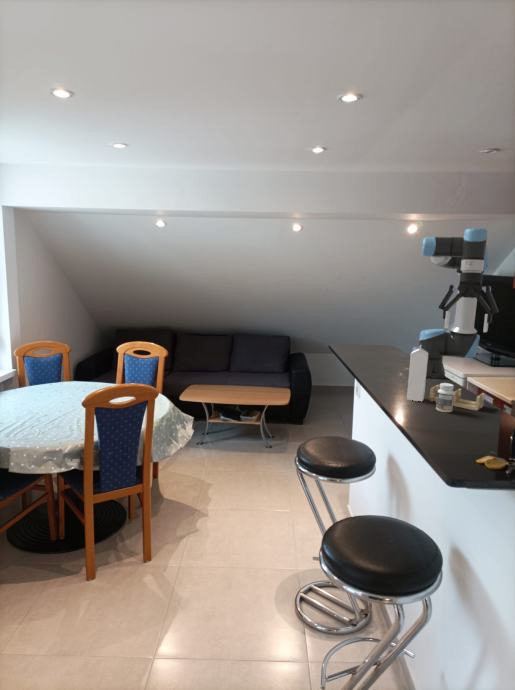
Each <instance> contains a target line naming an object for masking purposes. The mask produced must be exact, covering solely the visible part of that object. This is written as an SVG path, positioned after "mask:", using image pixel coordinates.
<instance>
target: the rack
mask: <svg viewBox="0 0 515 690" xmlns="http://www.w3.org/2000/svg"><path fill="white" fill-rule="evenodd" d="M439 389H440V384H436V385H433V386H432V387H430V390H429V399H428V401H429V400H430V401H429V402H433V401H435V403H437V392H438V390H439ZM453 391H454V390H453ZM461 394H462V389H461V388H459V389H457V390H455V391H454V401H453V407H457V408H463V409H466V410H467V409H468V410H471V411H479V410H480V409H482V408H483V407H484V402H485V393H484V392H483V393H480V394H479V395H477V396H476V401H473V400H469V399H462V398H461V396H462V395H461Z"/></svg>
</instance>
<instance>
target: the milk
mask: <svg viewBox="0 0 515 690" xmlns="http://www.w3.org/2000/svg"><path fill="white" fill-rule="evenodd" d="M427 362H428V352H426V351H425V350H423V349H422V348H421V345H420V346H419V345H418V348H417V349H415V350H414V351H412V352H411V353H410V360H409V369H408V380H407V381H408V382H407V391H406V401H412V400H413V402H418V401H421V402H420V403H423V402H422V401H424V399H425V391H426V381H427V378H426V372H427Z"/></svg>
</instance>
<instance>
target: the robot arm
mask: <svg viewBox="0 0 515 690" xmlns="http://www.w3.org/2000/svg"><path fill="white" fill-rule="evenodd" d="M487 242H488V229H486V228H483V227H481V228H480V227H473V228H467V229H465V230H464V235H463V236H452V237H449V236H448V237H447V236H427V237H423V241H422V246H421V247H422V248H421V249H422V250H421V251H422V253H421V254H422V256H423V257H429V259H430V262H431V263H432V264H434V265H436V266H438V267H441V268H444V269H448V270H449V269H450V270H456V272H455V273H456V274H457V275H458V277H459V278H458V285H456V284H450V285H449V288H448V291H447V292H446V294H445V296H444V298H442V301H441V302H440V304H439V305H438V309H440V310H441V311H443V312H442V320H444V327H443V328H430V329H424V330H423V329H422V330H421V332H420V334H419V338H418V340H419V342H418V343H419V345H418V347H419V346H420V345H421V348H422V349H423V350H425V351H426V352H428V362H427V372H426V377H435V378H434V379H443V378H445V377H446V371H445V366H444V361H443V358H444V357H451V358H453V357H454V358H460V359H472V358H474V357H476V353H477V350H478V347H479V344H480V337H481V336H480V334H477V333H478V330H477V329H476V328H475V322H476V321H475V320H476V313H477V312H476V311H477V304H478V303H477V302H479V304H480V305H481V306H482V307H483V309H484V310H485V312H486V313H485V314H484V322H483V331H482V332H483V333H487V332H488V329H489V324H491V323H492V321H493V314H496V313H499V311H500V309H499V307H498V305H497V303H496V300H495V298H494V295H493V293H492V287H491V286H490V285H486V286H483V277H484V276H483V275H484V274H485V271H487V270H488V269H489V254H488V253H489V249H488V246H487ZM456 291H457V294H456V295H455V296H454V298H453V299H452V300H450V299H451V297H452V295H453V294H454V292H456ZM482 291H483V292H484V293H486V294H485V295H486V297H487V300H488V302H489V304H490V305H488V303H487V302H486V300H485V299H484V297H483V296H482V294H481V293H482ZM449 300H450V301H449ZM448 301H449V302H448ZM455 304H456V306H455V307H456V308H455V318H454V326H452V328H450V320H451V319H450V318H451V310H450V309H451V308H452V307H453V306H454V305H455ZM449 328H450V330H449V331H450V332H447V331H446V329H449ZM441 377H442V378H441Z"/></svg>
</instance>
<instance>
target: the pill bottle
mask: <svg viewBox="0 0 515 690" xmlns="http://www.w3.org/2000/svg"><path fill="white" fill-rule="evenodd" d="M453 401H454V384H452V383H449V382H441V383H440V384H439V390H438V392H437V402H435V403H436V405H435V410H437V411H438V412H442V413H451V412H453V409H454V406H453Z"/></svg>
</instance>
